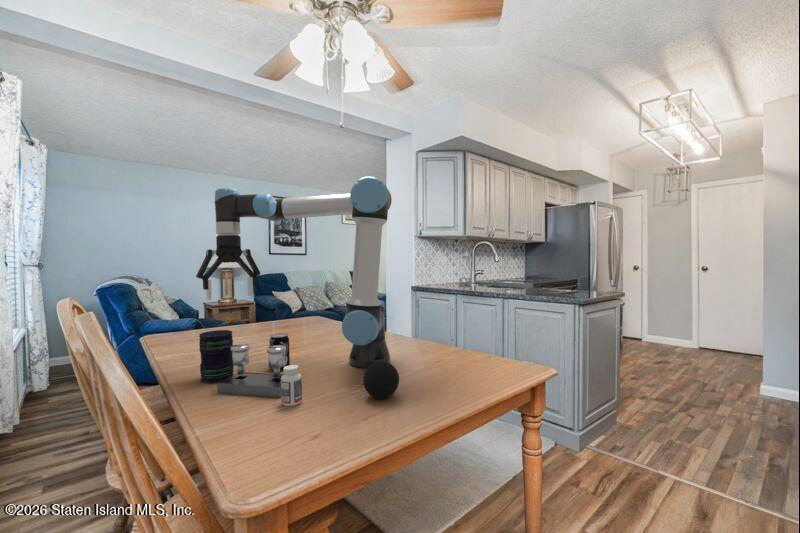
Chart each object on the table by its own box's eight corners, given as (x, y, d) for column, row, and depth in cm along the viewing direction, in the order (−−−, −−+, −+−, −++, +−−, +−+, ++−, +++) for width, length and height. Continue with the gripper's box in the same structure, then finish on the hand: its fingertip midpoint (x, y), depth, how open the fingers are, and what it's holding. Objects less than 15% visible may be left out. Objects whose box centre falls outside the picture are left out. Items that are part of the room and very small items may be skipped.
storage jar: (207, 386, 116) (205, 338, 115) (195, 379, 123) (194, 333, 122) (239, 377, 123) (238, 332, 123) (226, 371, 130) (225, 328, 129)
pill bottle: (300, 397, 106) (299, 363, 105) (304, 404, 101) (303, 368, 101) (280, 401, 103) (279, 365, 103) (283, 408, 99) (282, 371, 98)
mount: (298, 384, 116) (298, 374, 116) (279, 397, 106) (279, 386, 106) (241, 380, 121) (240, 370, 121) (217, 393, 110) (217, 382, 110)
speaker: (402, 391, 109) (402, 357, 109) (395, 405, 99) (394, 368, 99) (369, 389, 111) (368, 356, 111) (358, 403, 101) (358, 366, 101)
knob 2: (289, 373, 114) (289, 345, 113) (280, 379, 109) (279, 349, 108) (273, 372, 115) (272, 344, 115) (263, 378, 110) (262, 349, 109)
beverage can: (292, 366, 135) (291, 333, 135) (285, 371, 129) (284, 337, 129) (275, 365, 136) (274, 332, 136) (266, 371, 130) (266, 337, 129)
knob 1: (254, 371, 116) (253, 343, 116) (243, 377, 111) (242, 348, 111) (238, 370, 117) (237, 343, 117) (227, 376, 112) (226, 347, 112)
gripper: (259, 236, 139) (261, 293, 140) (184, 235, 122) (186, 300, 123) (268, 235, 133) (270, 295, 134) (190, 233, 116) (193, 302, 117)
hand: (230, 297), depth 128 cm, fingers open, 13 cm apart
